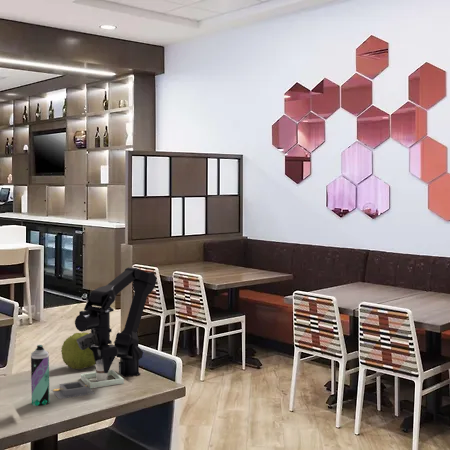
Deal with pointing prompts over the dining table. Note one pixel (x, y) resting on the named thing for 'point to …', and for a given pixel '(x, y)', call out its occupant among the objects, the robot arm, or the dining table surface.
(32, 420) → the dining table surface
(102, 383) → the tray
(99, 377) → the cylinder
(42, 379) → the spray can
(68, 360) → the fruit
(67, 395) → the holder
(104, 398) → the dining table surface
